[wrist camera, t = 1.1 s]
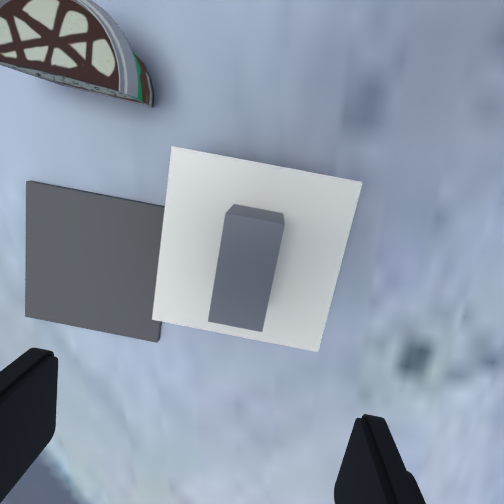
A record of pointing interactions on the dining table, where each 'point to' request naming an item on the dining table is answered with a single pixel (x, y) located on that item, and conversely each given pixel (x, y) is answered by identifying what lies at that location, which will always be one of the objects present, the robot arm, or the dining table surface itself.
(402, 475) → the robot arm
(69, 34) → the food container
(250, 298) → the lid
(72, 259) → the rubber mat
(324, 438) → the dining table surface
